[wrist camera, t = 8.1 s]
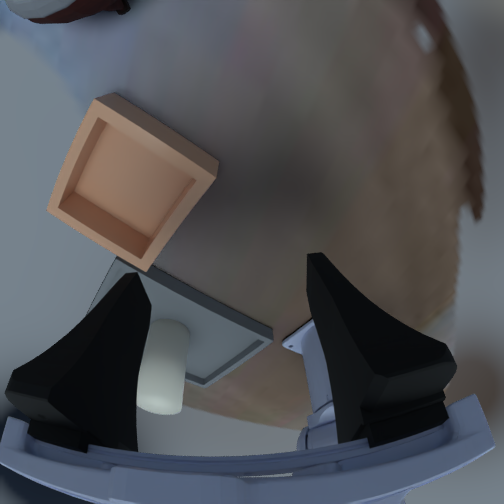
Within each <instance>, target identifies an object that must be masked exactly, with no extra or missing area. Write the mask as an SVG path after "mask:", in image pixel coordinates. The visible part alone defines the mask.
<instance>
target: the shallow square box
mask: <svg viewBox="0 0 504 504" xmlns="http://www.w3.org/2000/svg"><path fill="white" fill-rule="evenodd" d="M218 166H219V161H218V160H217V159H215V158H214V157H212V156H211V155H209V154H208V153H206V152H205V151H204V150H202V149H201V148H199V147H198V146H196V145H195V144H193V143H192V142H190V141H189V140H187V139H186V138H184V137H183V136H181V135H180V134H178V133H177V132H175V131H174V130H172V129H171V128H169V127H168V126H166V125H165V124H163V123H162V122H160V121H159V120H157V119H155V118H154V117H152V116H151V115H149V114H148V113H146V112H144V111H143V110H141V109H140V108H138V107H137V106H135V105H133V104H132V103H130V102H129V101H127V100H125V99H124V98H122V97H120V96H119V95H117V94H116V93H111V94H107V95H104V96H101V97H98V98H95V99H94V100H93V102H92V104H91V105H90V107H89V109H88V111H87V113H86V115H85V117H84V119H83V121H82V123H81V125H80V127H79V129H78V131H77V133H76V136H75V138H74V140H73V142H72V144H71V147H70V149H69V151H68V154H67V156H66V158H65V161H64V164H63V166H62V168H61V171H60V174H59V176H58V179H57V181H56V184H55V187H54V190H53V193H52V195H51V198H50V201H49V204H48V207H47V211H48V212H49V213H51V214H52V215H54V216H56V217H57V218H58V219H60V220H61V221H63V222H64V223H66V224H67V225H69V226H70V227H72V228H74V229H75V230H77V231H78V232H80V233H81V234H83V235H85V236H86V237H88V238H89V239H91V240H93V241H94V242H96V243H97V244H99V245H101V246H103V247H104V248H106V249H107V250H109V251H111V252H112V253H114V254H116V255H117V256H119V257H121V258H122V259H124V260H126V261H127V262H129V263H131V264H133V265H134V266H136V267H138V268H139V269H141V270H143V271H145V272H147V270H148V269H149V267H150V266H151V264H152V263H153V262H154V260H155V259H156V257H157V256H158V254H159V253H160V252H161V250H162V249H163V248H164V246H165V245H166V243H167V242H168V241H169V239H170V238H171V236H172V235H173V234H174V232H175V231H176V230H177V228H178V227H179V226H180V224H181V223H182V222H183V220H184V219H185V218H186V216H187V215H188V214H189V212H190V211H191V210H192V208H193V207H194V206H195V205H196V203H197V202H198V201H199V199H200V198H201V197H202V196H203V194H204V193H205V192H206V190H207V189H208V188H209V187H210V185H211V184H212V183H213V182H214V180H215V179H216V178H217V172H218Z"/></svg>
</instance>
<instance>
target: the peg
mask: <svg viewBox="0 0 504 504" xmlns="http://www.w3.org/2000/svg"><path fill="white" fill-rule="evenodd" d="M189 338H190V332H189V330H188V329H187V327H186V326H185V325H183V324H182V323H180V322H178V321H175V320H172V319H159V320H156V321H154V322H153V323H152V324H151V325H150V329H149V333H148V337H147V341H146V345H145V350H144V354H143V358H142V363H141V367H140V372H139V376H138V387H137V405H138V406H139V407H140V408H142V409H144V410H146V411H149V412H152V413H156V414H163V415H172V414H177V413H179V412H180V411H181V410H182V400H183V390H184V381H185V371H186V363H187V354H188V346H189Z"/></svg>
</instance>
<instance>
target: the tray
mask: <svg viewBox="0 0 504 504" xmlns="http://www.w3.org/2000/svg"><path fill="white" fill-rule="evenodd" d="M132 272H138V274H139V276H140V279H141V281H142V284H143V286H144V288H145V291H146V293H147V295H148V298H149V300H150V302H151V304H152V310H151V319H150V325H151V324H152V323H153V322H154V321H156V320H159V319H172V320H175V321H178V322H180V323H182V324H183V325H185V326H186V327H187V329H188V330H189V332H190V338H189V346H188V354H187V363H186V371H185V381H186V382H189V383H192V384H194V385H197V386H200V387H203V388H207V387H208V386H210V385H211V384H213V383H214V382H216V381H217V380H219V379H220V378H222V377H223V376H225V375H226V374H228V373H229V372H231V371H232V370H234V369H235V368H237V367H238V366H240V365H241V364H242V363H244V362H245V361H247V360H248V359H250V358H251V357H252V356H254V355H255V354H257V353H258V352H259V351H261V350H262V349H264V348H265V347H266V346H268V345H269V344H270V343H272V342H273V341H274V340H273V332H272V329H271V328H269V327H267V326H265V325H263V324H261V323H259V322H257V321H255V320H253V319H251V318H249V317H247V316H245V315H243V314H241V313H239V312H237V311H235V310H233V309H231V308H229V307H227V306H225V305H223V304H221V303H219V302H218V301H216V300H214V299H212V298H210V297H208V296H206V295H204V294H203V293H201V292H199V291H197V290H195V289H193V288H191V287H190V286H188V285H186V284H184V283H182V282H181V281H179V280H177V279H175V278H173V277H172V276H170V275H168V274H166V273H164V272H163V271H161V270H159V269H157V268H156V267H154V266H152V265H151V266H150V267H149V269H148V270H147V272H145V271H143V270H141V269H139V268H138V267H136V266H134V265H133V264H131V263H129V262H127V261H126V260H124V259H122V258H121V257H119V256H117V257H116V258H115V260H114V262H113V264H112V266H111V268H110V270H109V271H108V273H107V275H106V277H105V279H104V281H103V282H102V284H101V286H100V288H99V290H98V292H97V294H96V296H95V298H94V300H93V302H92V304H91V306H90V308H89V310H88V312H87V314H88V313H89V312H90V311H91V310H92V309H93V308H94V307H95V306H96V305H97V304H98V303H99V301H100V300H101V299H102V298H103V297H104V296H105V295H106V294H107V292H108V291H109V290H110V289H111V288H112V287H113V286H114V285H115V283H116V282H117V281H118V280H119V279H120V278H121V277H122V276H123V275H124V274H125V273H132ZM87 314H86V315H87ZM149 329H150V327H149ZM148 333H149V331H148ZM147 337H148V335H147ZM146 341H147V339H146ZM145 345H146V344H145ZM144 350H145V348H144ZM143 354H144V352H143ZM142 358H143V356H142ZM141 363H142V361H141Z"/></svg>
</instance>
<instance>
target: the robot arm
mask: <svg viewBox="0 0 504 504" xmlns="http://www.w3.org/2000/svg"><path fill="white" fill-rule="evenodd" d="M306 291H307V296H308V302H309V307H310V312H311V315H312V318H313V319H312V320H311V321H309V322H308V323H307V324H305V325H304V326H303V327H301V328H300V329H299V330H297V331H296V332H295V333H293V334H292V335H291V336H289V337H288V338H287V339H285V340H284V341H283V342H282V344H283V346H284V347H285V348H288V349H290V350H292V351H294V352H297V353H299V354H301V355H303V360H304V365H305V371H306V376H307V382H308V387H309V393H310V398H311V404H312V410H313V414H312V415H309V416H307V420H308V426H307V427H305V428H303V429H302V431H301V433H300V436H299V438H298V441H297V451H293V452H285V453H275V454H264V455H249V456H226V457H225V456H223V457H222V456H221V457H204V456H203V457H202V456H200V457H199V456H176V455H161V454H150V453H141V452H138V444H137V429H136V405H137V387H138V376H139V370H140V365H141V361H142V356H143V352H144V348H145V344H146V339H147V335H148V331H149V327H150V319H151V310H152V304H151V302H150V300H149V298H148V295H147V293H146V291H145V288H144V286H143V284H142V281H141V279H140V276H139V274H138V272H132V273H125V274H124V275H123V276H122V277H121V278H120V279H119V280H118V281H117V282H116V283H115V285H114V286H113V287H112V288H111V289H110V290H109V291H108V292H107V294H106V295H105V296H104V297H103V298H102V299H101V300H100V301H99V303H98V304H97V305H96V306H95V307H94V308H93V309H92V310H91V311H90V312H89V313H88V314H87V315H86V316H85V318H84V319H83V320H82V321H81V322H80V323H79V324H77V325H76V326H75V327H74V328H73V329H72V330H71V331H70V332H69V333H68V334H67V335H66V336H64V337H63V338H62V339H60V340H59V341H58V342H57V343H56V344H54V345H53V346H52V347H50V348H49V349H48V350H46V351H45V352H43V353H42V354H40V355H39V356H37V357H36V358H34V359H33V360H31V361H29V362H28V363H26V364H24V365H22V366H20V367H19V368H17V369H15V370H13V372H12V375H11V378H10V380H9V383H8V385H7V388H6V391H5V395H6V397H7V398H8V400H9V401H10V402H11V403H12V404H13V405H14V406H15V407H17V408H18V409H19V410H20V411H21V412H23V413H24V414H25V415H26V416H28V417H29V418H30V419H31V421H30V424H28V423H26V422H24V421H21V420H19V419H16V418H13V417H8V419H7V423H6V426H5V429H4V433H3V436H2V440H1V444H0V463H1V464H2V465H4V466H6V467H8V468H9V469H11V470H13V471H15V472H17V473H19V474H21V475H23V476H25V477H27V478H29V479H31V480H33V481H35V482H38V483H40V484H42V485H45V486H47V487H50V488H52V489H55V490H57V491H60V492H63V493H66V494H68V495H71V496H74V497H77V498H80V499H83V500H86V501H89V502H93V503H97V504H406V503H405V500H404V497H405V496H406V495H407V493H408V492H409V491H410V490H412V489H415V488H417V487H419V486H422V485H425V484H427V483H429V482H432V481H434V480H436V479H439V478H441V477H443V476H445V475H447V474H449V473H452V472H454V471H456V470H458V469H460V468H462V467H463V466H465V465H467V464H469V463H471V462H472V461H474V460H476V459H477V458H479V457H481V456H482V455H484V454H486V453H487V452H489V451H490V450H492V449H493V448H494V447H495V442H494V440H493V437H492V434H491V431H490V429H489V426H488V423H487V421H486V418H485V416H484V413H483V411H482V408H481V406H480V403H479V401H478V399H477V396H476V394H472V395H470V396H467V397H465V398H463V399H461V400H458V401H456V402H454V403H452V404H450V405H448V406H447V407H446V408H445V405H444V403H443V401H444V400H445V398H446V396H445V394H444V391H443V389H444V388H445V387H446V385H447V384H448V383H449V381H450V380H451V379H452V378H453V376H454V374H455V372H456V369H457V365H456V363H455V360H454V358H453V356H452V354H451V352H450V350H449V349H448V347H447V345H446V344H445V343H443V342H440V341H438V340H436V339H433V338H431V337H429V336H426V335H424V334H422V333H420V332H418V331H416V330H414V329H412V328H410V327H409V326H407V325H405V324H403V323H402V322H400V321H398V320H397V319H395V318H394V317H392V316H391V315H389V314H388V313H386V312H385V311H383V310H382V309H380V308H379V307H378V306H377V305H375V304H374V303H373V302H371V301H370V300H369V299H368V298H367V297H365V296H364V295H363V294H362V293H361V292H360V291H359V290H358V289H357V288H355V287H354V286H353V285H352V284H351V283H350V282H349V281H348V280H347V279H346V278H345V277H344V276H343V275H342V274H341V273H340V272H339V270H338V269H337V268H336V267H335V266H334V265H333V264H332V263H331V262H330V261H329V259H328V258H327V257H326V256H325V255H324V254H323V253H322V252H319V253H311V254H307V288H306ZM292 472H293V474H292V476H286V477H253V478H252V477H243V476H262V475H274V474H284V473H292Z"/></svg>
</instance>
